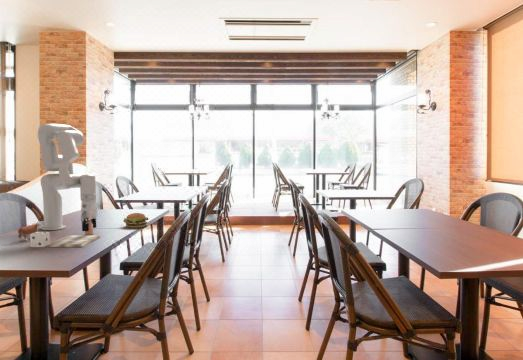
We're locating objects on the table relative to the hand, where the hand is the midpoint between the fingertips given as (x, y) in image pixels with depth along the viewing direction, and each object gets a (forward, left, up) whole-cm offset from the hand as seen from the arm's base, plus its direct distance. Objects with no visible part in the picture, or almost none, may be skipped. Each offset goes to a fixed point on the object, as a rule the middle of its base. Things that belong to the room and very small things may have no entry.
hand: (89, 229), depth 214 cm
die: (-13, -24, -3) cm, 27 cm away
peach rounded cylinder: (0, 0, -3) cm, 3 cm away
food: (+17, +26, -4) cm, 31 cm away
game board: (0, -16, -3) cm, 16 cm away
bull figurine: (-25, -11, -3) cm, 28 cm away
